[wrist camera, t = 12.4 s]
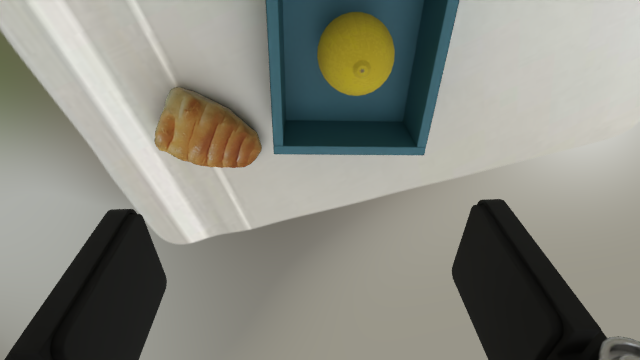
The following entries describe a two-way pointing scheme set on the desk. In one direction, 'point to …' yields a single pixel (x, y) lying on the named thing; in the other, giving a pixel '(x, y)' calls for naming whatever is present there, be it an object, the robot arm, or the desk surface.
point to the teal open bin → (347, 110)
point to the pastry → (204, 132)
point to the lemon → (356, 53)
